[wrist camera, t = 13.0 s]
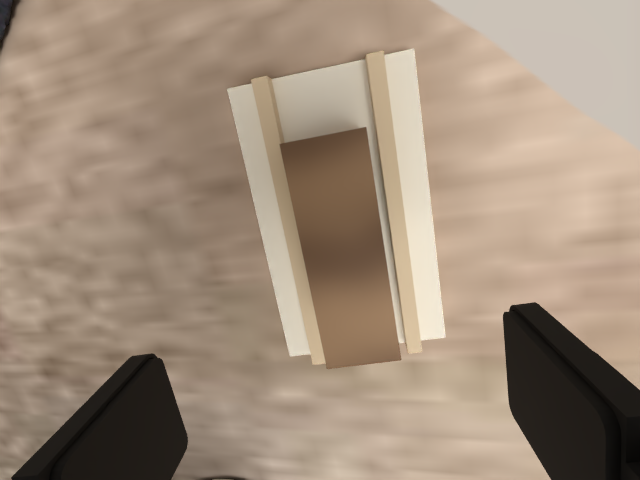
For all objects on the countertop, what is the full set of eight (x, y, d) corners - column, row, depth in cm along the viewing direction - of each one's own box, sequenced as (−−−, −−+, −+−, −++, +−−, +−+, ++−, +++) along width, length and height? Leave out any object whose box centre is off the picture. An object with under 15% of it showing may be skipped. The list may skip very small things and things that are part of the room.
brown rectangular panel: (387, 296, 27) (402, 360, 20) (332, 304, 28) (325, 369, 20) (361, 128, 24) (367, 126, 17) (300, 140, 25) (278, 144, 17)
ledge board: (440, 327, 29) (450, 348, 27) (292, 346, 31) (286, 367, 28) (410, 53, 24) (418, 42, 21) (233, 91, 26) (219, 86, 23)
